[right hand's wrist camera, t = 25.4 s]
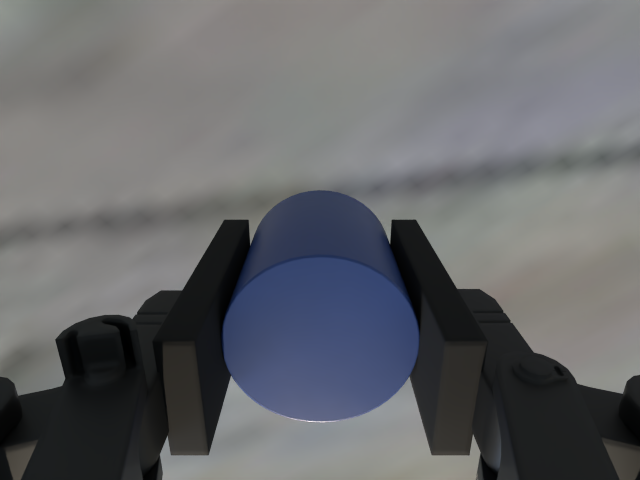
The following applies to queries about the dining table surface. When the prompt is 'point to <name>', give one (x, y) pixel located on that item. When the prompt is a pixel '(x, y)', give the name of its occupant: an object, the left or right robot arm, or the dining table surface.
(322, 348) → the can
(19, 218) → the dining table surface
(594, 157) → the dining table surface
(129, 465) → the right robot arm
